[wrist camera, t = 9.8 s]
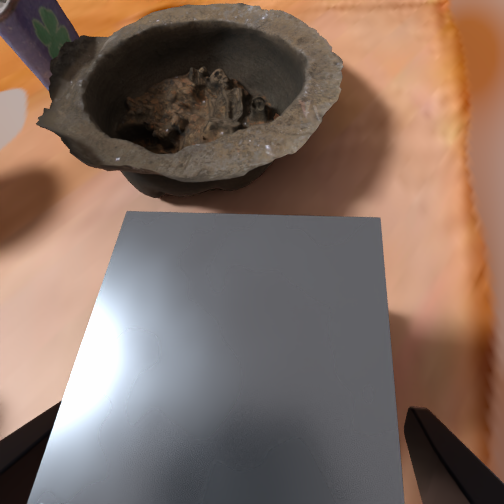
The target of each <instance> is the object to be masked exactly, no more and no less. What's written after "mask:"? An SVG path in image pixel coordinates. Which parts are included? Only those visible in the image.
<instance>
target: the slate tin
mask: <svg viewBox="0 0 504 504" xmlns="http://www.w3.org/2000/svg"><path fill="white" fill-rule="evenodd" d="M27 504H405V503H404V491H403V479H402V468H401V456H400V444H399V432H398V420H397V409H396V397H395V385H394V373H393V361H392V350H391V338H390V326H389V314H388V303H387V291H386V279H385V267H384V255H383V244H382V232H381V220H380V218H376V217H336V216H297V215H257V214H218V213H178V212H139V211H127V212H126V215H125V218H124V221H123V224H122V227H121V230H120V233H119V236H118V239H117V242H116V244H115V247H114V250H113V253H112V256H111V259H110V262H109V265H108V268H107V271H106V274H105V277H104V280H103V283H102V286H101V288H100V291H99V294H98V297H97V300H96V303H95V306H94V309H93V312H92V315H91V318H90V321H89V324H88V327H87V329H86V332H85V335H84V338H83V341H82V344H81V347H80V350H79V353H78V356H77V359H76V362H75V365H74V368H73V370H72V373H71V376H70V379H69V382H68V385H67V388H66V391H65V394H64V397H63V400H62V403H61V406H60V409H59V412H58V414H57V417H56V420H55V423H54V426H53V429H52V432H51V435H50V438H49V441H48V444H47V447H46V450H45V453H44V455H43V458H42V461H41V464H40V467H39V470H38V473H37V476H36V479H35V482H34V485H33V488H32V491H31V494H30V496H29V499H28V502H27Z"/></svg>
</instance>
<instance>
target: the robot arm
mask: <svg viewBox="0 0 504 504" xmlns="http://www.w3.org/2000/svg"><path fill="white" fill-rule="evenodd" d="M61 403H62V401H60V402H59V403H57V404H56V405H54V406H53V407H51V408H50V409H48V410H47V411H45V412H43V413H42V414H40V415H39V416H37V417H36V418H34V419H33V420H31V421H30V422H28V423H27V424H25V425H24V426H22V427H21V428H19V429H18V430H16V431H14V432H13V433H11V434H10V435H8V436H7V437H5V438H4V439H2V440H1V441H0V504H27V502H28V499H29V496H30V494H31V491H32V488H33V485H34V482H35V479H36V476H37V473H38V470H39V467H40V464H41V461H42V458H43V455H44V453H45V450H46V447H47V444H48V441H49V438H50V435H51V432H52V429H53V426H54V423H55V420H56V417H57V414H58V412H59V409H60V406H61ZM404 434H405V439H406V442H407V446H408V450H409V454H410V457H411V461H412V465H413V469H414V473H415V476H416V480H417V484H418V488H419V492H420V495H421V499H422V502H423V504H504V483H503V482H502V481H501V480H500V479H499V478H498V477H497V476H496V475H495V474H494V473H493V472H492V471H491V470H490V469H489V468H488V467H486V466H485V465H484V464H483V463H482V462H481V461H480V460H479V459H478V458H477V457H476V456H475V455H474V454H473V453H472V452H471V451H470V450H469V449H468V448H467V447H466V446H465V445H464V444H463V443H462V442H461V441H460V440H459V439H458V438H457V437H456V436H455V435H454V434H453V433H452V432H451V431H450V430H449V429H448V428H447V427H446V426H445V425H444V424H443V423H442V422H441V421H440V420H439V419H438V418H437V417H436V416H435V415H434V414H433V413H432V412H430V411H429V410H428V409H427V408H424V407H414V406H411V407H409V408H408V412H407V416H406V420H405V425H404Z"/></svg>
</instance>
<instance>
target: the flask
mask: <svg viewBox="0 0 504 504" xmlns="http://www.w3.org/2000/svg"><path fill="white" fill-rule="evenodd" d="M0 36H1V37H2V38H3V39H4V40H5V41H6V43H7V44H8V45H9V46H10V47H11V48H12V49H13V50H14V51H15V53H16V54H17V55H18V56H19V57H20V58H21V60H22V61H23V62H24V63H25V64H26V65H27V66H28V68H29V69H30V70H31V71H32V72H33V73H34V74H35V75H36V76H37V78H38V79H39V80H40V81H41V82H42V84H43V85H44V86H45V87H46V88H47V89H48V91H49V85H50V80H49V78H50V77H51V76H52V73H51V71H50V60H52V59H54V58H55V57H56V56H58V54H59V51H60V48H61V47H62V46H63V44H64V43H65V42H73V41H74V40H75V39H79V38H80V37H79V36H78V34H77V32H76V31H75V29H74V27H73V25H72V24H71V22H70V21H69V19H68V18H67V17H66V15H65V13H64V12H63V10H62V9H61V7H60V5H59V4H58V2H57V1H56V0H0Z"/></svg>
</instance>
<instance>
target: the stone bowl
mask: <svg viewBox="0 0 504 504" xmlns="http://www.w3.org/2000/svg"><path fill="white" fill-rule="evenodd" d="M342 64H343V61H342V59H341V58H340V57H339V56H337V55H336V54H335V53H333V52H332V47H331V46H330V45H329V43H328V42H327V40H326V39H324V38H323V37H322V36H320V35H319V33H317V31H316V30H315V29H313V28H310V27H308V25H307V24H305V23H304V22H302V21H301V20H299V19H297V18H296V17H294V16H292V15H290V14H288V13H286V12H284V11H281V10H269V11H268V10H262V9H261V8H260V6H250V5H246V4H243V3H238V4H211V5H184V6H180V7H175V8H170V9H166V10H161V11H156V12H153V13H151V14H149V15H147V16H144V17H143V18H141V19H139V20H138V21H136V22H135V23H132V24H129V25H127V26H125V27H123V28H121V29H120V30H118V31H117V32H114V33H113V35H112V36H110V37H89V36H85V35H83V36H80V38H79V39H75V40H74V41H73V42H65V43H64V44H63V46H62V47H61V48H60V51H59V54H58V56H56V57H55V58H54V59H52V60H50V71H51V73H52V76H51V77H50V78H49V80H50V85H49V93H50V98H51V100H52V103H51V106H50V109H46V108H44V113H43V115H42V116H40V117H38V119H39V121H38V122H37V123H36V124H37V125H38V126H40V127H42V128H46V129H48V130H50V131H52V132H54V133H55V134H57V135H58V136H59V137H61V140H62V141H63V143H64V144H65V145H66V146H67V147H68V148H69V149H70V153H71V154H72V155H74V156H75V157H76V158H78V159H79V160H80V161H81V162H83V163H85V164H86V165H88V166H91V167H94V168H100V169H104V170H106V171H114V170H120V171H121V172H122V173H123V175H124V176H125V177H126V178H127V180H128V181H129V182H130V183H131V184H132V185H133V186H134V187H135V188H136V189H138V190H139V191H140V192H142V193H143V194H145V195H147V196H150V197H153V198H160V197H161V196H163V195H165V194H169V195H174V196H184V195H194V194H197V193H201V192H204V191H207V190H210V189H214V188H219V189H222V190H236V189H239V188H241V187H244V186H246V185H248V184H250V183H251V182H252V181H253V180H255V179H256V178H258V177H259V176H260V175H261V174H262V173H263V172H264V171H265V170H266V168H267V167H268V166H269V165H270V164H271V163H272V162H273V161H274V160H275V159H277V158H280V157H283V156H285V155H287V154H293V153H296V152H297V151H298V150H299V149H300V148H301V147H302V146H303V145H304V144H305V143H306V141H307V140H308V139H309V137H310V136H311V135H312V133H313V132H315V131H316V130H317V128H318V126H319V125H320V123H321V122H322V117H323V116H324V114H325V113H326V112H327V111H328V110H329V109H330V108H331V107H332V105H333V104H334V103H335V102H337V100H338V98H339V94H340V92H341V88H340V83H341V80H342V72H341V70H342V68H343V65H342ZM249 112H250V113H249ZM275 113H277V114H279V117H277V118H276V119H275V120H274V116H275Z"/></svg>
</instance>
